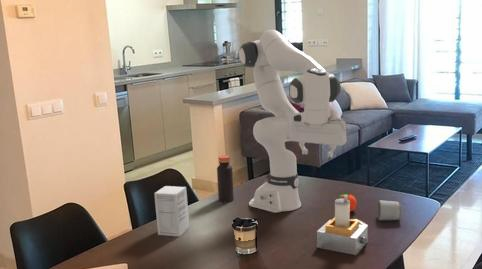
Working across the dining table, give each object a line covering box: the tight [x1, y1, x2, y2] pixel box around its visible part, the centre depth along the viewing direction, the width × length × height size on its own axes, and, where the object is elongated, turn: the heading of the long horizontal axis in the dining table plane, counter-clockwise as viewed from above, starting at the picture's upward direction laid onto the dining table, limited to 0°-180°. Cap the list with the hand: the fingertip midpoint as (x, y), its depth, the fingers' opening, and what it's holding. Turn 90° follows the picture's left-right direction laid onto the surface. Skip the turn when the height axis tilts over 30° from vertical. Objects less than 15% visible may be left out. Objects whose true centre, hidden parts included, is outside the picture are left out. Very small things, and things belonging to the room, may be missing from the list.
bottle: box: [216, 155, 235, 203], centre depth 234 cm, size 7×7×20 cm
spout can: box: [334, 196, 351, 228], centre depth 182 cm, size 5×5×12 cm
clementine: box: [337, 194, 358, 212], centre depth 216 cm, size 8×7×7 cm
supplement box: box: [154, 185, 190, 237], centre depth 201 cm, size 10×9×17 cm
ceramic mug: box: [377, 199, 402, 221], centre depth 206 cm, size 11×8×8 cm
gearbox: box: [316, 216, 369, 256], centre depth 183 cm, size 15×12×8 cm
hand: (317, 155), depth 184 cm, fingers open, 8 cm apart
